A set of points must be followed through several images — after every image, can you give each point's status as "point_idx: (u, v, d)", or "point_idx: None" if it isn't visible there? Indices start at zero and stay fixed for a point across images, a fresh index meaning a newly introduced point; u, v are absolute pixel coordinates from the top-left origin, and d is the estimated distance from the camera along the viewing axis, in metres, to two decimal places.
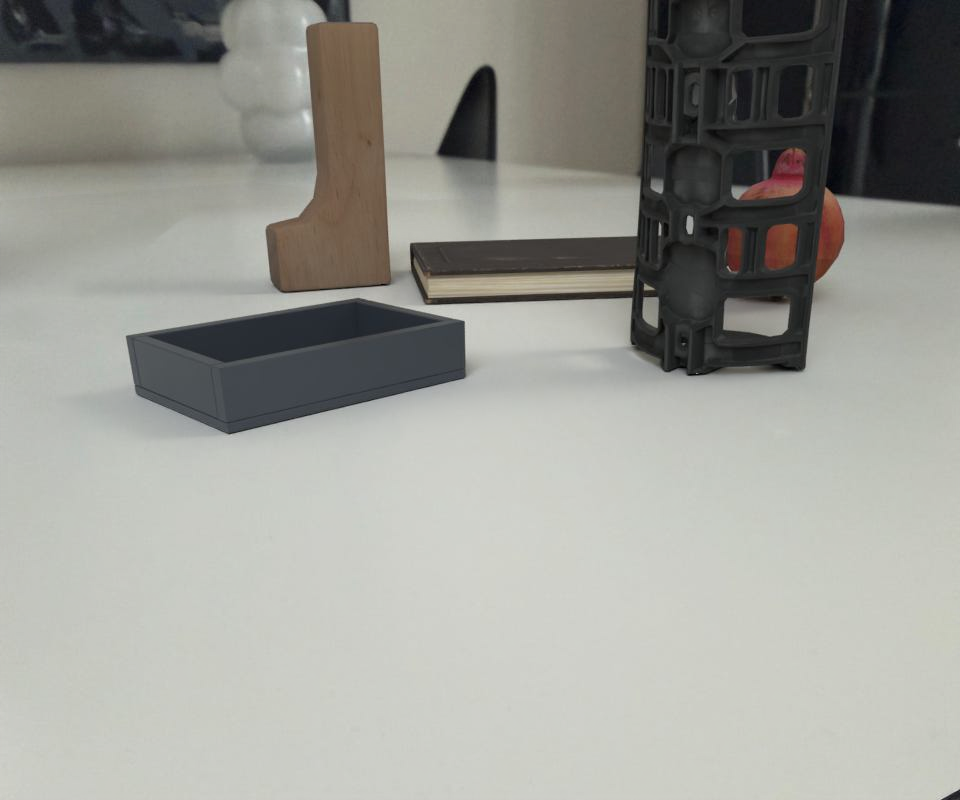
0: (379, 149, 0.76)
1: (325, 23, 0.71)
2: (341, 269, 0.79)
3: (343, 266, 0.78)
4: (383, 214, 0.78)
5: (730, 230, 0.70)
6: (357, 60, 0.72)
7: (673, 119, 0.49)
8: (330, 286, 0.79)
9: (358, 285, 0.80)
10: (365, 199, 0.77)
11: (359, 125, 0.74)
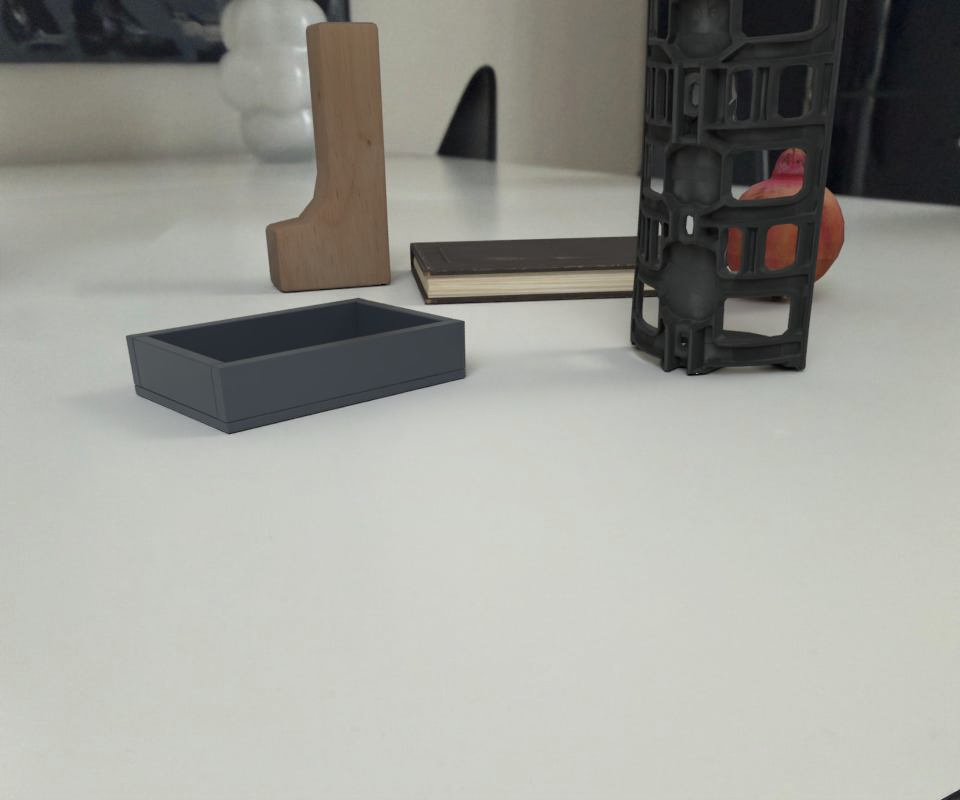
0: (379, 149, 0.76)
1: (325, 23, 0.71)
2: (341, 269, 0.79)
3: (343, 266, 0.78)
4: (382, 214, 0.78)
5: (730, 230, 0.70)
6: (357, 60, 0.72)
7: (673, 119, 0.49)
8: (330, 286, 0.79)
9: (358, 285, 0.80)
10: (365, 199, 0.77)
11: (359, 125, 0.74)
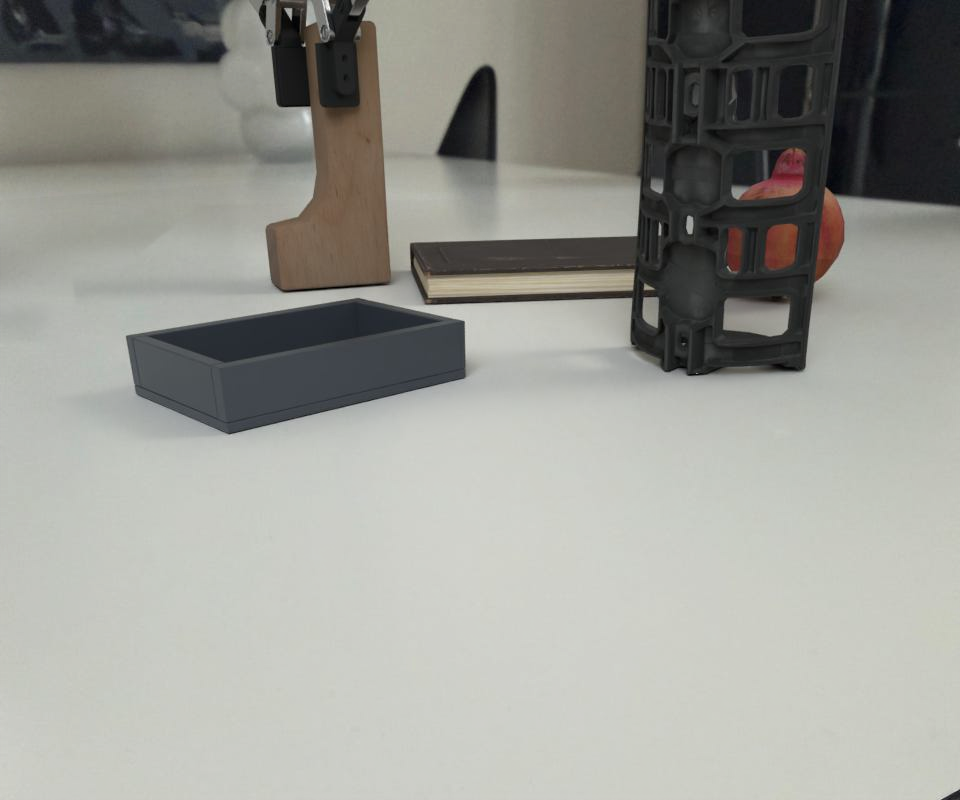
0: (378, 147, 0.76)
1: None
2: (341, 267, 0.78)
3: (343, 264, 0.78)
4: (382, 212, 0.78)
5: (730, 230, 0.70)
6: None
7: (673, 119, 0.49)
8: (330, 284, 0.79)
9: (358, 283, 0.80)
10: (365, 197, 0.77)
11: (357, 123, 0.75)
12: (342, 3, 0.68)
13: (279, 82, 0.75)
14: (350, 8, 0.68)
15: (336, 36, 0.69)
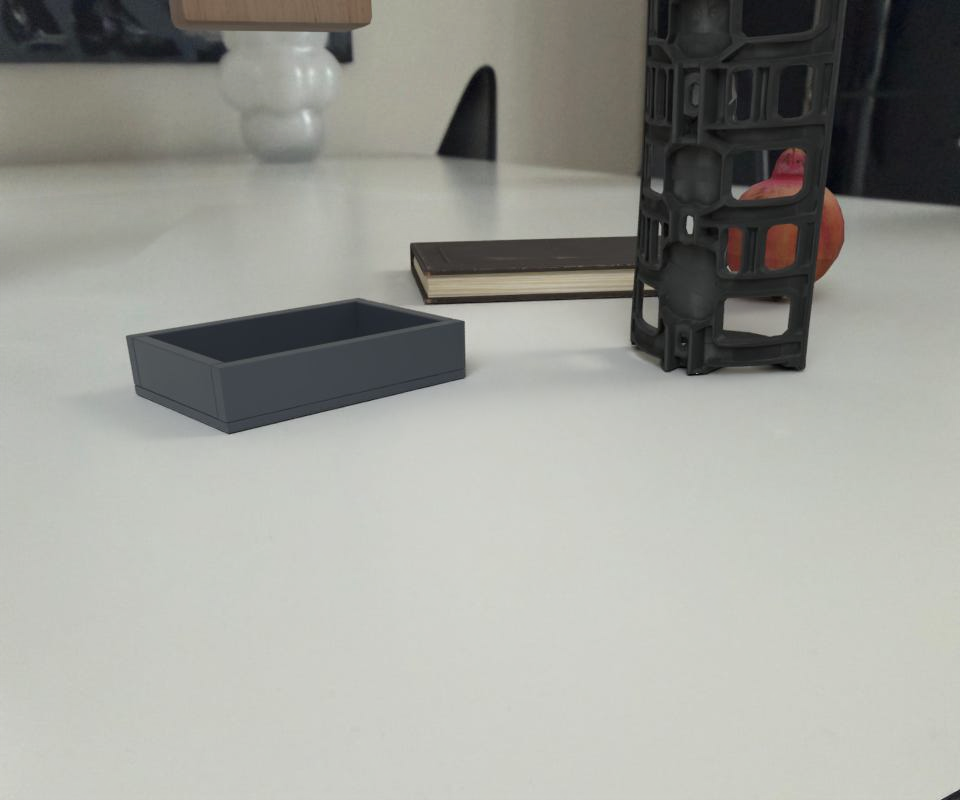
0: None
1: None
2: None
3: None
4: None
5: (730, 230, 0.70)
6: None
7: (673, 119, 0.49)
8: (269, 18, 0.46)
9: (317, 22, 0.47)
10: None
11: None
12: None
13: None
14: None
15: None
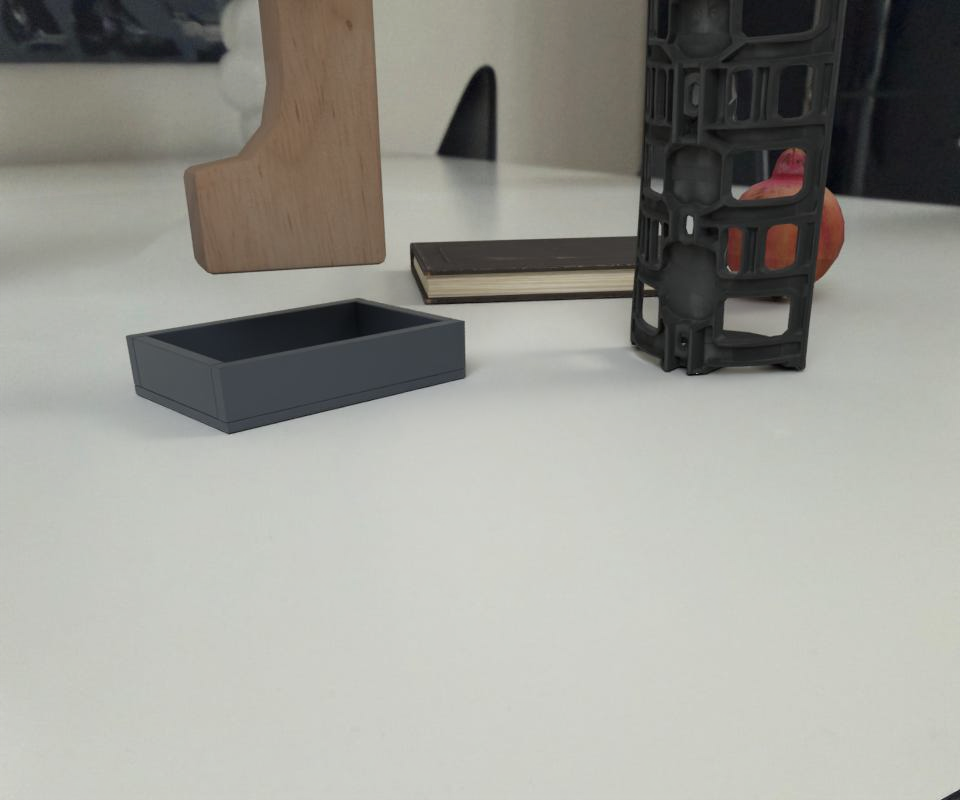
0: (366, 37, 0.46)
1: None
2: (306, 238, 0.48)
3: (309, 232, 0.48)
4: (373, 148, 0.48)
5: (730, 230, 0.70)
6: None
7: (673, 119, 0.49)
8: (288, 266, 0.49)
9: (334, 265, 0.49)
10: (344, 121, 0.47)
11: None
12: None
13: None
14: None
15: None
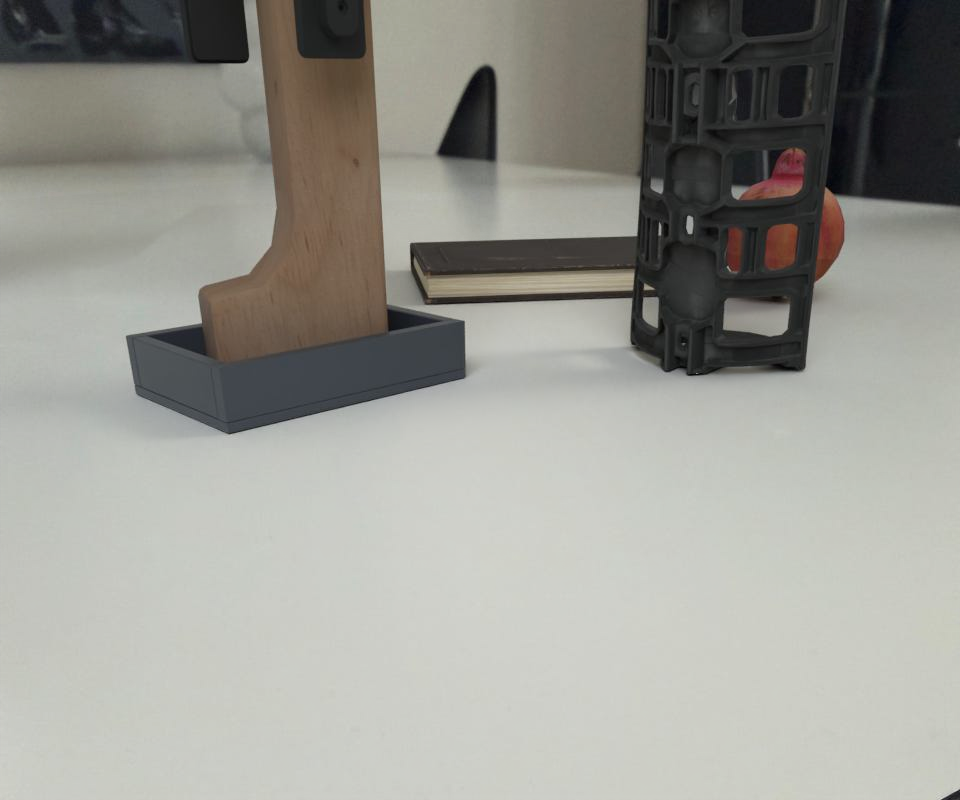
0: (372, 172, 0.48)
1: None
2: None
3: None
4: (378, 272, 0.50)
5: (730, 230, 0.70)
6: None
7: (673, 119, 0.49)
8: None
9: None
10: (351, 249, 0.49)
11: (339, 134, 0.47)
12: None
13: (189, 23, 0.48)
14: None
15: None
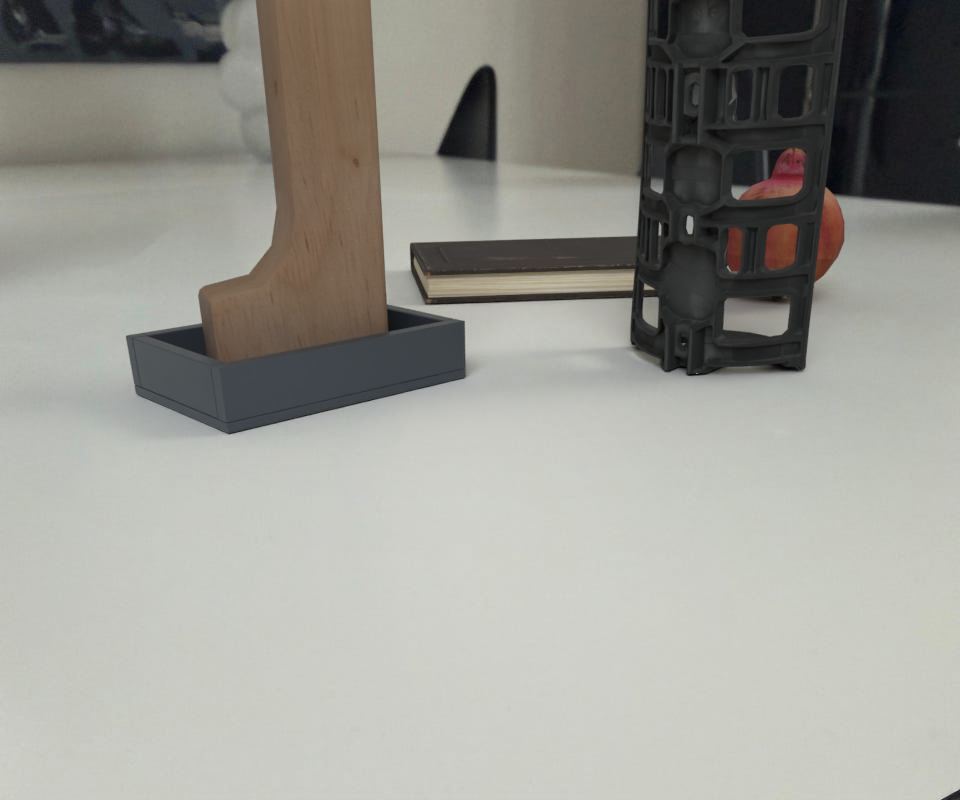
0: (372, 172, 0.48)
1: None
2: None
3: None
4: (378, 272, 0.50)
5: (730, 230, 0.70)
6: (335, 31, 0.45)
7: (673, 119, 0.49)
8: None
9: None
10: (351, 249, 0.49)
11: (339, 134, 0.47)
12: None
13: None
14: None
15: None
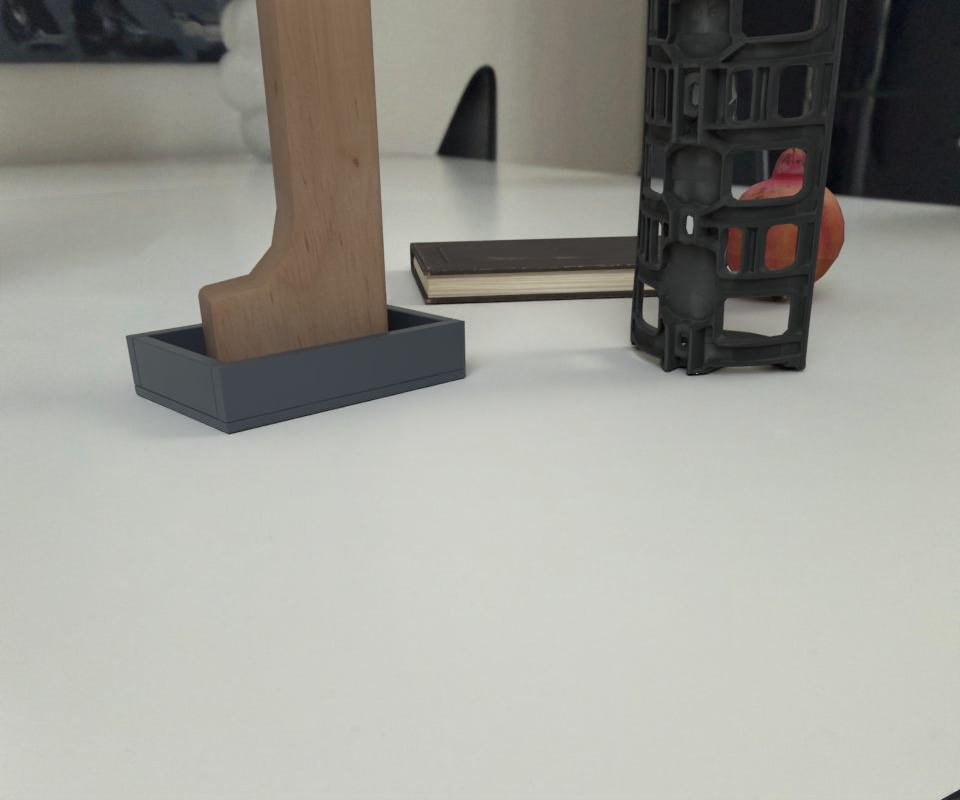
0: (372, 172, 0.48)
1: None
2: None
3: None
4: (378, 272, 0.50)
5: (730, 230, 0.70)
6: (335, 31, 0.45)
7: (673, 119, 0.49)
8: None
9: None
10: (351, 249, 0.49)
11: (339, 134, 0.47)
12: None
13: None
14: None
15: None
